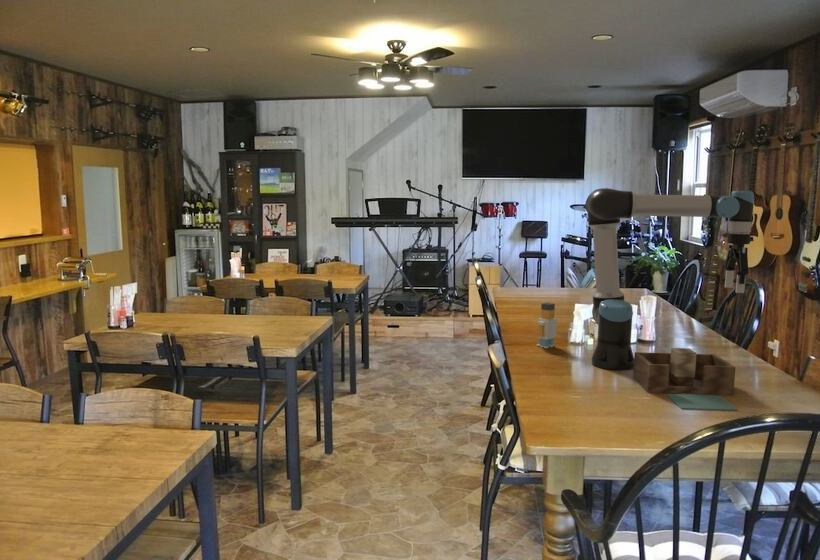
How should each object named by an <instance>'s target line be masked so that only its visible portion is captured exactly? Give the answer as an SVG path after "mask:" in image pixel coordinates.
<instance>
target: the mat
mask: <svg viewBox="0 0 820 560" xmlns="http://www.w3.org/2000/svg"><path fill="white" fill-rule="evenodd" d="M666 396H667V397H668V398H669V399H670V400H671V401H672V402H673V403H674V404H675V405H677V406H678V407H679V409H681V410H695V409H700V410H701V411H703V410H704V411H731V410H732V411H733V412H734V411H735V412H737V411H738V408H737V407H735V406H734V405H733V404H731V403H730V402H729V401H727V400H726V399H725V398H723V397H722V396H721V395H716V394H680V393H666Z"/></svg>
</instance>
